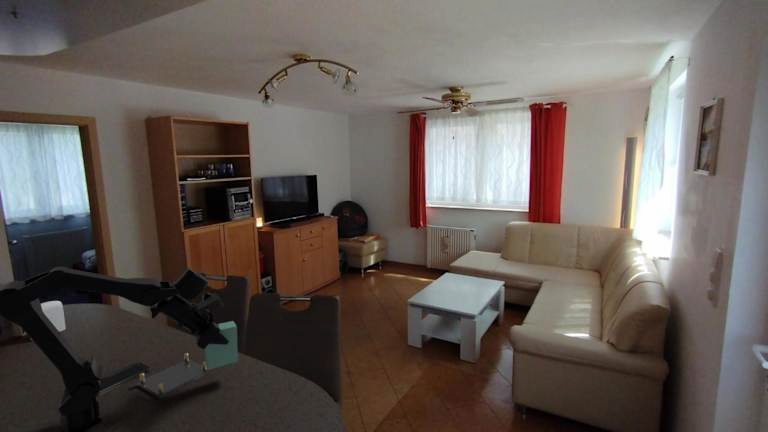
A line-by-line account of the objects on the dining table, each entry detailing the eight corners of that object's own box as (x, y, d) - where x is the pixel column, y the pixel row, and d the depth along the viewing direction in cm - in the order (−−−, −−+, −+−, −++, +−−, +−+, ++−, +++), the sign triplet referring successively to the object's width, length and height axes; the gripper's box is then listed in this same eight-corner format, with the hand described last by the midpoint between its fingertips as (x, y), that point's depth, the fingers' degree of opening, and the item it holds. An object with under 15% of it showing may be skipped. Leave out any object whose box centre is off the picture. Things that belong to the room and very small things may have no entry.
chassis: (160, 398, 99) (159, 387, 99) (137, 385, 105) (136, 374, 104) (210, 372, 112) (209, 361, 112) (187, 361, 118) (187, 351, 117)
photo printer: (34, 342, 129) (30, 309, 128) (27, 339, 131) (23, 307, 129) (68, 329, 139) (64, 299, 137) (61, 328, 140) (57, 297, 139)
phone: (152, 368, 112) (95, 394, 99) (152, 371, 113) (95, 398, 100) (138, 361, 116) (81, 385, 103) (138, 364, 116) (82, 389, 103)
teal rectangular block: (208, 369, 102) (206, 332, 101) (205, 362, 106) (203, 327, 104) (237, 361, 107) (236, 326, 105) (234, 355, 110) (233, 320, 109)
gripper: (210, 298, 93) (254, 328, 101) (198, 279, 108) (237, 307, 116) (176, 334, 90) (225, 363, 98) (169, 309, 105) (211, 336, 113)
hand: (225, 339), depth 106 cm, fingers closed on teal rectangular block, 4 cm apart
